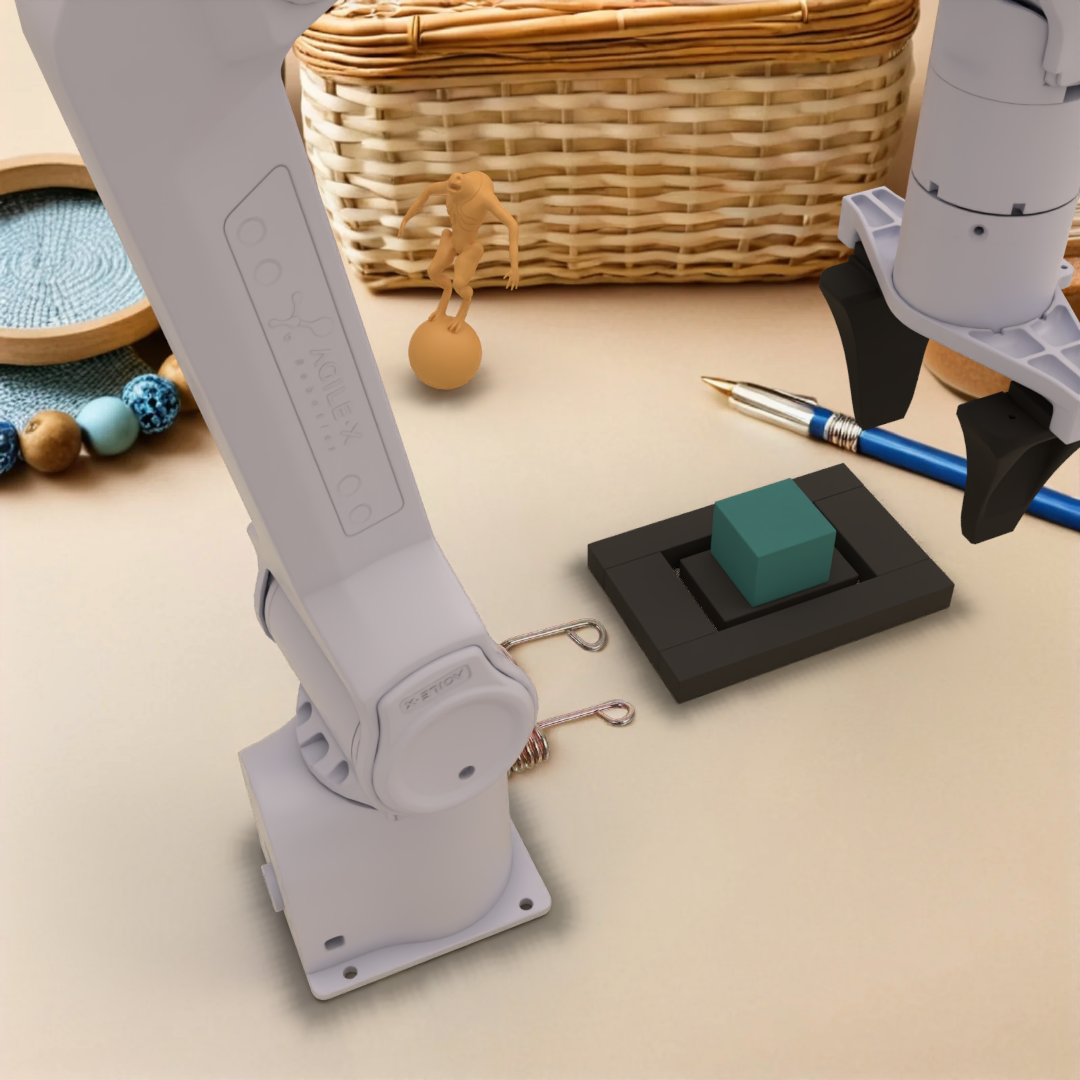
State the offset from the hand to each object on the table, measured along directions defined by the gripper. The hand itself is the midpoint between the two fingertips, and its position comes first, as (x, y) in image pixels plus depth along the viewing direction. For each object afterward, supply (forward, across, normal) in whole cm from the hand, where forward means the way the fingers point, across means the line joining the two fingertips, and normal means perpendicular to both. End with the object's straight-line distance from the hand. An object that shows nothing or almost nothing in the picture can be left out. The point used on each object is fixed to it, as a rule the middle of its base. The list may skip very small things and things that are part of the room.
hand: (931, 474), depth 59 cm
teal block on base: (+9, +5, +4) cm, 11 cm away
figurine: (+10, +26, +11) cm, 30 cm away
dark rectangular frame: (+9, +5, +4) cm, 11 cm away
